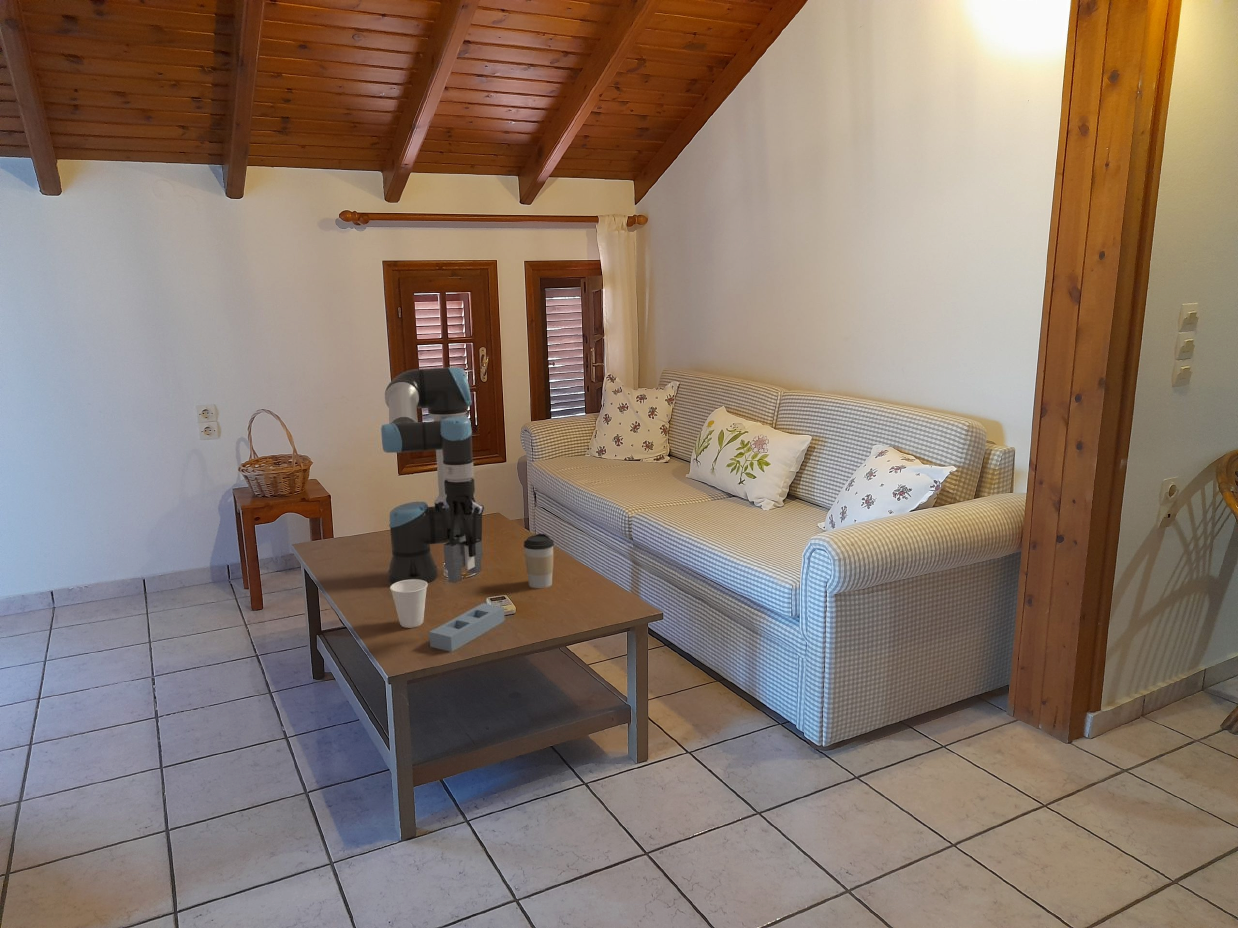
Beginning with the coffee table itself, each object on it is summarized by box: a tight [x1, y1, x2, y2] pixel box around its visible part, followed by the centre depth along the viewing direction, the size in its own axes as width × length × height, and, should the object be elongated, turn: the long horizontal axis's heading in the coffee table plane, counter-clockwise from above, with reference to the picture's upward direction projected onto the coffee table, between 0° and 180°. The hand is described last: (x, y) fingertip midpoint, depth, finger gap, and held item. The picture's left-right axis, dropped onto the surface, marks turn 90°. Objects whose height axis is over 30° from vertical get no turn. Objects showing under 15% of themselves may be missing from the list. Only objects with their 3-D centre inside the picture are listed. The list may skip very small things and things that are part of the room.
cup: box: [389, 579, 429, 629], centre depth 239 cm, size 10×10×11 cm
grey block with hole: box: [428, 602, 506, 653], centre depth 232 cm, size 7×22×4 cm, turn 150°
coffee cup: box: [523, 533, 555, 589], centre depth 266 cm, size 9×9×15 cm
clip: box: [443, 536, 484, 584], centre depth 228 cm, size 3×12×10 cm, turn 150°
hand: (464, 566), depth 229 cm, fingers closed on clip, 3 cm apart
